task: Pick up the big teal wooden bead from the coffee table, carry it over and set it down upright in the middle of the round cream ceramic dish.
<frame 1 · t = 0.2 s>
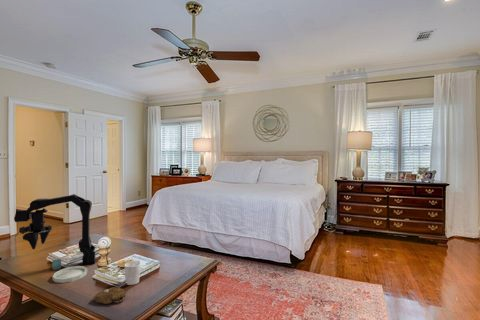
hand: (38, 246, 155), 14 cm above the table, fingers open, 9 cm apart
bead: (56, 268, 157), on the table
ceramic dish: (70, 275, 148), on the table
white cup: (132, 282, 141), on the table
decorative rock: (111, 299, 125), on the table
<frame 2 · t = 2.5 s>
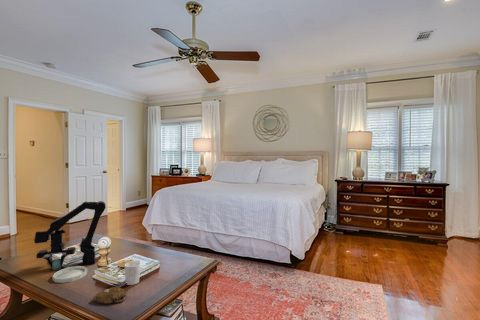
hand: (56, 266, 157), 1 cm above the table, fingers closed on bead, 4 cm apart
bead: (56, 268, 157), on the table, touching gripper
everything else where it was.
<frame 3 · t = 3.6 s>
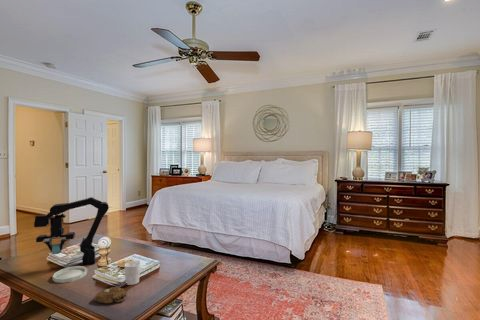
hand: (56, 251, 157), 10 cm above the table, fingers closed on bead, 4 cm apart
bead: (56, 252, 157), point 9 cm above the table, touching gripper
everything else where it was.
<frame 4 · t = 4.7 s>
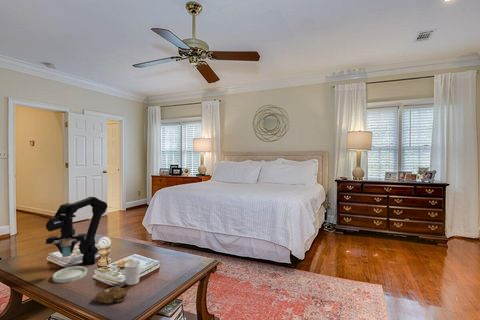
hand: (66, 253, 149), 12 cm above the table, fingers closed on bead, 4 cm apart
bead: (66, 255, 149), point 11 cm above the table, touching gripper
everything else where it was.
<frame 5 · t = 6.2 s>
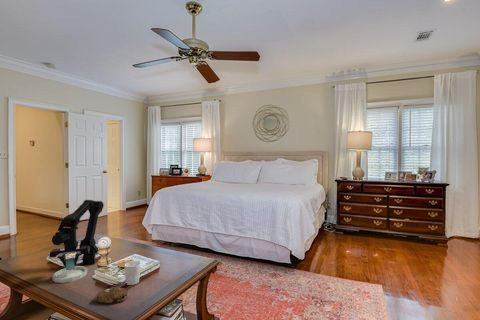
hand: (70, 266, 148), 5 cm above the table, fingers closed on bead, 4 cm apart
bead: (70, 268, 148), point 4 cm above the table, touching gripper
everything else where it was.
when the fingers open (3 cm above the table, at t = 7.1 s): bead stays where it is, resting on ceramic dish.
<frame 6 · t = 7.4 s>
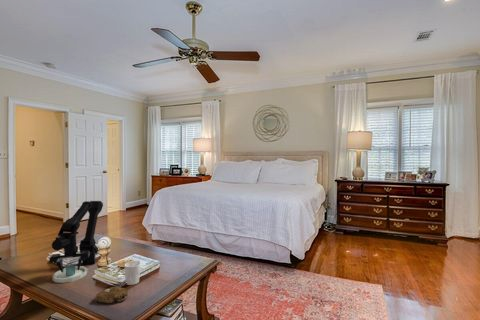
hand: (70, 271, 148), 3 cm above the table, fingers open, 7 cm apart
bead: (70, 274, 148), point 1 cm above the table, touching ceramic dish
everything else where it was.
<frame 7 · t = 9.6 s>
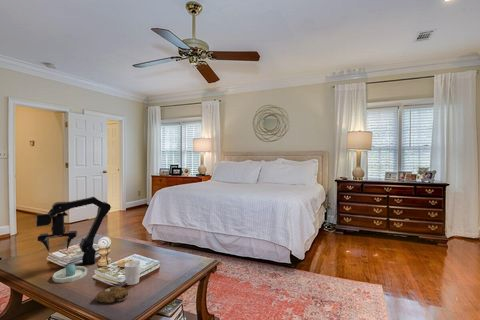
hand: (58, 250, 154), 12 cm above the table, fingers open, 9 cm apart
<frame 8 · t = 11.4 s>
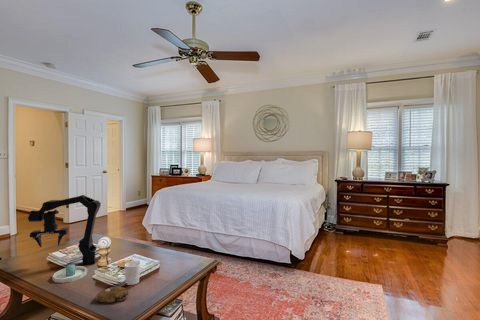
hand: (49, 246, 161), 12 cm above the table, fingers open, 9 cm apart
at the end: bead inside the target area on the ceramic dish (0.0 cm from its centre), point 0.6 cm above the ceramic dish's base; bead tilted 0°; the gripper is holding nothing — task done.
